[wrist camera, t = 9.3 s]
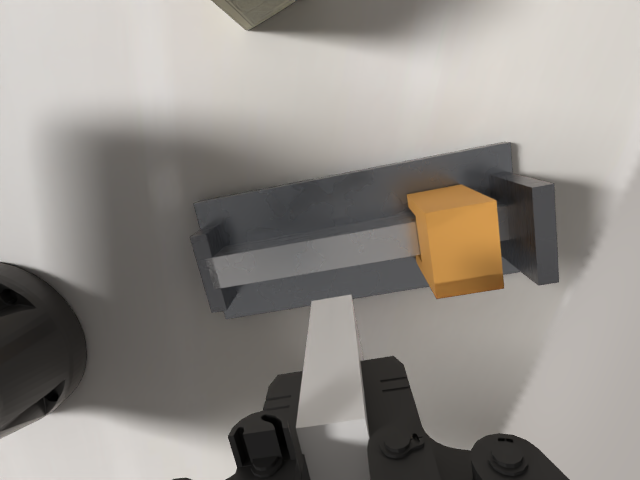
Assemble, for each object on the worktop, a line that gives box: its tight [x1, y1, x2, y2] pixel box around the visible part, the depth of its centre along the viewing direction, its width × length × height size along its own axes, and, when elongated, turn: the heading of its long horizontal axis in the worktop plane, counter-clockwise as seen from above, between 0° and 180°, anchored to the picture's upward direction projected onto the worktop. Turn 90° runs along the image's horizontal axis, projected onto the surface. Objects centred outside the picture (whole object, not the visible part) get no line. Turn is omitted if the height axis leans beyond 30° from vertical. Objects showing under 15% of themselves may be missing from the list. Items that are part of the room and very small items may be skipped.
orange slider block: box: [407, 184, 504, 299], centre depth 27 cm, size 4×5×7 cm
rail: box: [190, 142, 559, 319], centre depth 28 cm, size 24×10×8 cm, turn 101°
